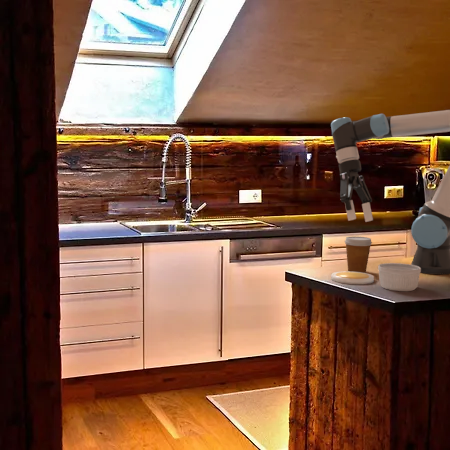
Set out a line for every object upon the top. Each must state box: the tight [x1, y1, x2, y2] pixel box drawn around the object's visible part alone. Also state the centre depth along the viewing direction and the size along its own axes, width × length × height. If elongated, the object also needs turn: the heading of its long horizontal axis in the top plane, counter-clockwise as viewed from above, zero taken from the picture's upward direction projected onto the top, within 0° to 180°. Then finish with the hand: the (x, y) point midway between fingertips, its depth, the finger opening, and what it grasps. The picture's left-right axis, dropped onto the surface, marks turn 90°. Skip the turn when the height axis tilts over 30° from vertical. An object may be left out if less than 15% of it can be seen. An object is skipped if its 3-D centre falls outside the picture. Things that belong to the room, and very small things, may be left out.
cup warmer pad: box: [330, 270, 375, 285], centre depth 234 cm, size 14×14×2 cm
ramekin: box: [377, 262, 421, 292], centre depth 223 cm, size 13×13×7 cm
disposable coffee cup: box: [344, 236, 373, 273], centre depth 248 cm, size 10×10×12 cm
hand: (361, 220), depth 242 cm, fingers open, 13 cm apart
